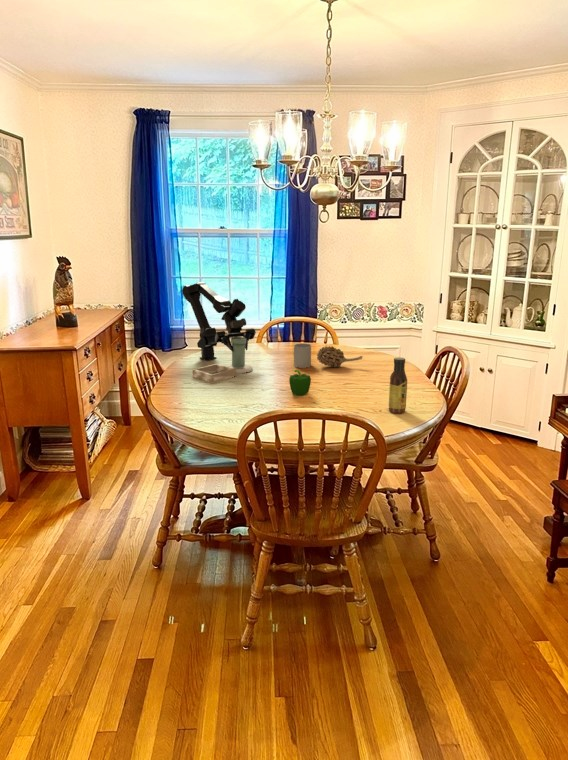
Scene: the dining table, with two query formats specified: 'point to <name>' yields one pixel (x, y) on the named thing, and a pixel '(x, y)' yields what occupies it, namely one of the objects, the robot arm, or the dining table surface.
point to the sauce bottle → (398, 387)
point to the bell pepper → (299, 383)
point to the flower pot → (238, 352)
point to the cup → (302, 355)
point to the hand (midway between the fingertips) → (239, 350)
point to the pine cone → (333, 357)
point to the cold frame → (204, 374)
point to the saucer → (243, 369)
